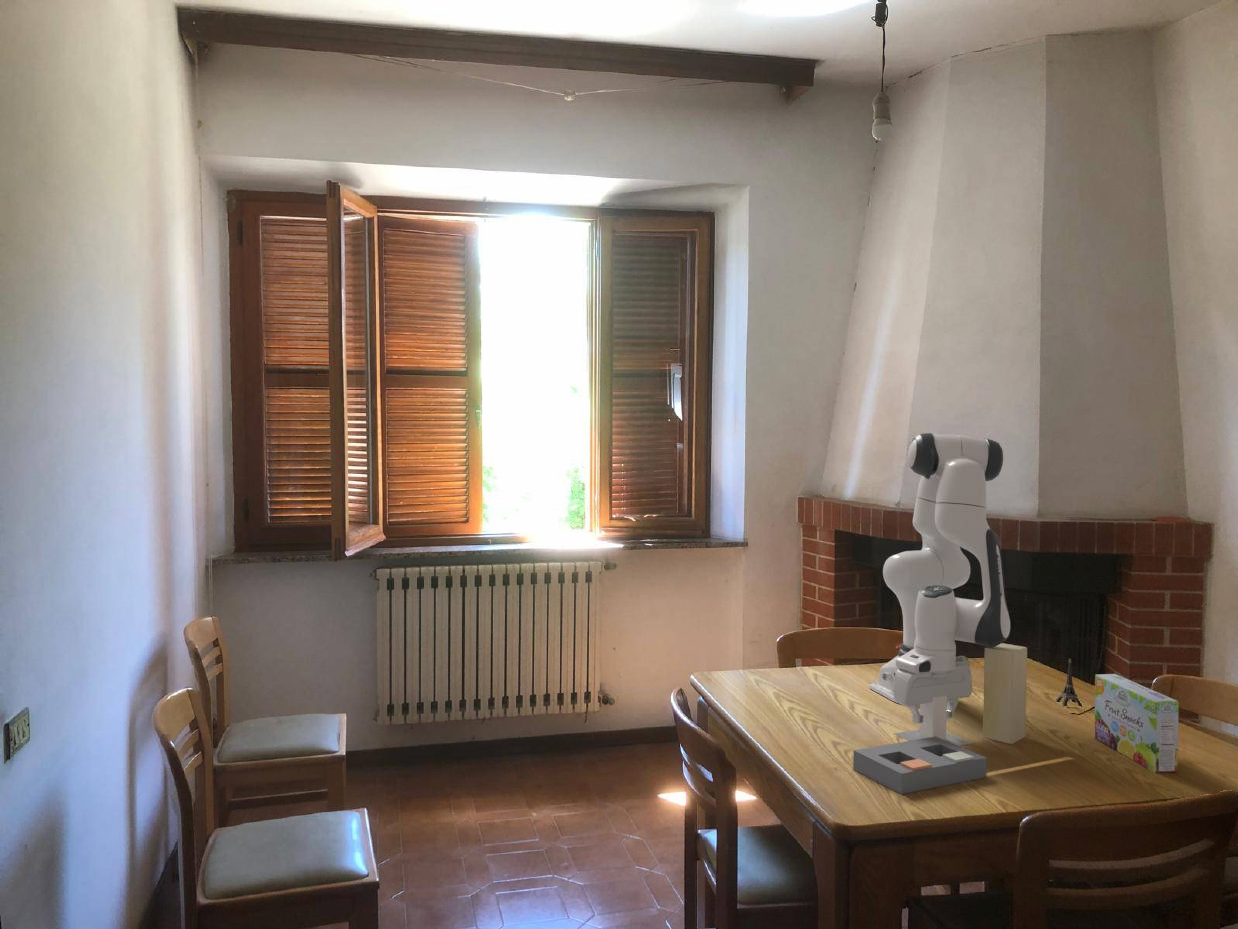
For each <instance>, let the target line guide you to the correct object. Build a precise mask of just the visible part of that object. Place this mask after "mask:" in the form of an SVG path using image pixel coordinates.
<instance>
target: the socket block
mask: <svg viewBox="0 0 1238 929" xmlns="http://www.w3.org/2000/svg"><path fill="white" fill-rule="evenodd" d="M852 758H853V764H852V765H853V767H852V770H853V771H855V772H857V773H859V774H861V775H862V776H865V777H867V778H868V779H871V780H873V781H874V782H877V783H878V784H880V785H882V786H884V787H887V788H888V789H890V790H892V791H894V792H896V793H897V794H900V795H905V794H909V793H913V792H914V793H915V792H918V791H919V792H920V791H924V790H929V789H933V788H934V789H935V788H940V787H944V786H945V787H946V786H949V785H955V784H960V783H964V782H970V781H974V780H979V779H985V778H987V763H988V762H987V761H988V759H987V757H986V756H984V755H981V754H978V753H976V752H974V751H972V750H969V749H966V748H965V747H962V746H957V745H955V744H953V743H950V742H948V741H945V740H943V739H941V738H938V737H936V736H935V737H929V738H923V739H917V740H911V741H908V740H907V741H902V742H901V741H900V742H893V743H889V744H883V745H878V746H877V745H876V746H871V747H865V748H858V749H853V757H852Z"/></svg>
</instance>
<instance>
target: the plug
mask: <svg viewBox="0 0 1238 929" xmlns="http://www.w3.org/2000/svg"><path fill="white" fill-rule="evenodd" d="M919 713H920V715H923V723H919V729H920V734H919V737H921V738H929V737H935V736H936V737H938V738H941V739H943V740H946V732H947V721H948V720H947V696H940V697H933V701H932V703H925V704H920V709H919Z"/></svg>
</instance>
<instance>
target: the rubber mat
mask: <svg viewBox="0 0 1238 929" xmlns="http://www.w3.org/2000/svg"><path fill="white" fill-rule="evenodd" d="M919 734H920V728H918V729H914V730H909V731H908V730H907V731H903V732H895V733H894V735H895V736H897V737H900V738H902V739H904V740H907V741H911V740H917V739H923V738H921V737H919ZM945 741H948V742H950V743H953V744H955V745H957V746H960V747H962V746H965V745H966V746H967V745H971V744H974V743H973V742H971V741H969V740H966V739H964V738H961V737H958V735H957V736H956V735H953V734H951V733H950V732H947V731H946V740H945Z"/></svg>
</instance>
